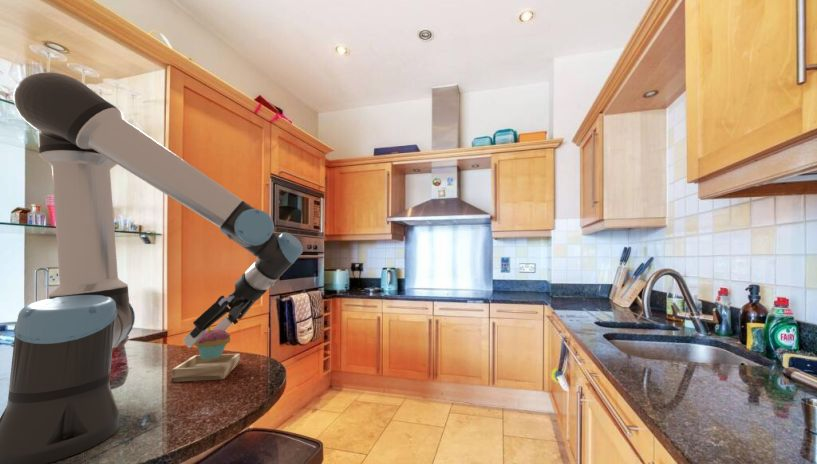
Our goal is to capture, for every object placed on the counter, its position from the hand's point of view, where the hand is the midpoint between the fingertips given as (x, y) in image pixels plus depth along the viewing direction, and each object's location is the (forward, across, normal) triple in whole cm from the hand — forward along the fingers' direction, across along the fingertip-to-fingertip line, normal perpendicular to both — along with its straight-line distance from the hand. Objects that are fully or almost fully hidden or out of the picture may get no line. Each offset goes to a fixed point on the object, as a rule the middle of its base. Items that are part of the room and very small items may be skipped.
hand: (200, 339), depth 88 cm
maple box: (+4, 0, -8) cm, 9 cm away
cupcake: (+1, 0, -6) cm, 6 cm away
